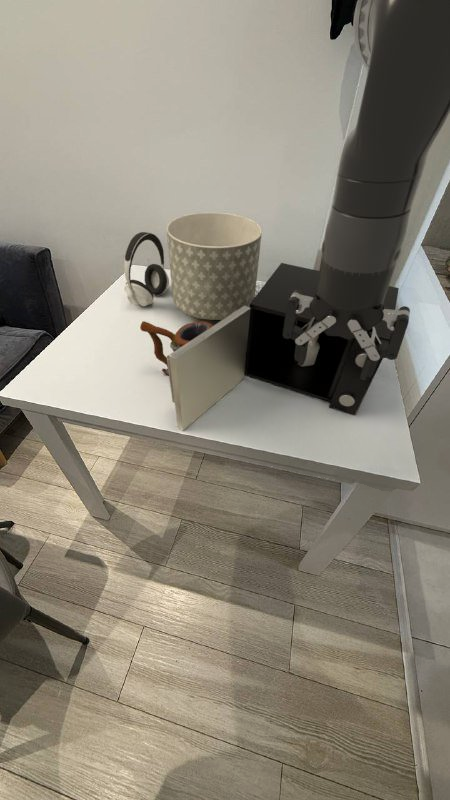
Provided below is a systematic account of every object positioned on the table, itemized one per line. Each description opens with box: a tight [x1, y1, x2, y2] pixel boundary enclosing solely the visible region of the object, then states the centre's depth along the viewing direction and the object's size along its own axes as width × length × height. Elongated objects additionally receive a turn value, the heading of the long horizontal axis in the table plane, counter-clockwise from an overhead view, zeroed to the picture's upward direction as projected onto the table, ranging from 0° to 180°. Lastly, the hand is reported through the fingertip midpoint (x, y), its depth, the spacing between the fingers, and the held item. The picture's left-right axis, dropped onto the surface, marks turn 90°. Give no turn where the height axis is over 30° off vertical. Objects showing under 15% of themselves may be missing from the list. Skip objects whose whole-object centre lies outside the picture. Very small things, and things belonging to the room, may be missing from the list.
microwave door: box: [166, 306, 251, 432], centre depth 69 cm, size 5×22×20 cm, turn 141°
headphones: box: [123, 231, 170, 307], centre depth 99 cm, size 19×8×20 cm, turn 157°
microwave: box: [244, 262, 399, 416], centre depth 77 cm, size 24×28×20 cm
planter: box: [166, 211, 263, 321], centre depth 95 cm, size 25×25×24 cm
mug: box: [139, 320, 214, 376], centre depth 76 cm, size 18×12×15 cm, turn 78°
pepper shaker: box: [300, 334, 320, 366], centre depth 81 cm, size 4×4×10 cm
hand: (331, 368), depth 46 cm, fingers open, 8 cm apart
